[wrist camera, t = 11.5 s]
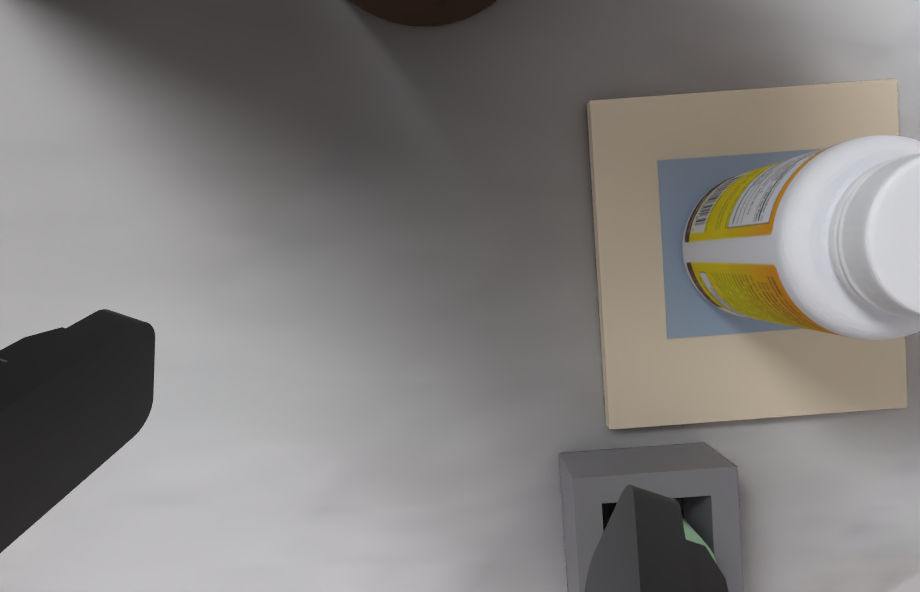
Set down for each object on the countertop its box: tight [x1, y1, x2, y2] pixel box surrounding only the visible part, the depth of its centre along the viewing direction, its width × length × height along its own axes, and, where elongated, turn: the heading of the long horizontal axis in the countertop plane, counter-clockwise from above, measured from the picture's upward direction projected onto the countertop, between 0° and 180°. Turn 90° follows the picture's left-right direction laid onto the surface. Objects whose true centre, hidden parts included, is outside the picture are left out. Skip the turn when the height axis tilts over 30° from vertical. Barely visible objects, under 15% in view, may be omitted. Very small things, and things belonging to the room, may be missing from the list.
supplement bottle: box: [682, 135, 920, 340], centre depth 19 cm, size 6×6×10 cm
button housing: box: [559, 442, 743, 592], centre depth 24 cm, size 6×6×3 cm
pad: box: [587, 78, 908, 430], centre depth 25 cm, size 13×12×1 cm
